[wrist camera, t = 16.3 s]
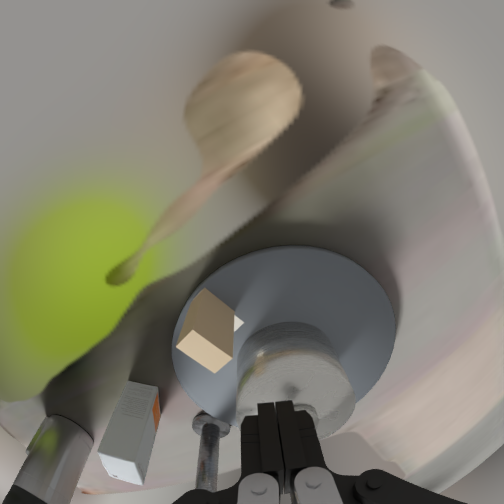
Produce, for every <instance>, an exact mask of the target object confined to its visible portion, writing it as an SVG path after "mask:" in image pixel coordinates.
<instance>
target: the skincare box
mask: <svg viewBox="0 0 504 504" xmlns="http://www.w3.org/2000/svg"><path fill="white" fill-rule="evenodd" d="M160 418H161V414H160V405H159V393H158V387H157V386H151V385H146V384H141V383H136V382H132V381H127V383H126V386H125V388H124V390H123V392H122V394H121V397H120V399H119V401H118V403H117V406H116V408H115V410H114V413H113V415H112V417H111V420H110V422H109V424H108V427H107V429H106V431H105V434H104V436H103V439H102V441H101V444H100V446H99V448H98V451H97V452H98V454H99V456H100V458H101V460H102V464H103V466H104V467H105V469H106V470H107V472H108V474H109V476H110V477H113V478H116V479H120V480H123V481H127V482H130V483H134V484H138V485H144V480H145V476H146V472H147V468H148V464H149V460H150V456H151V452H152V448H153V444H154V440H155V436H156V432H157V429H158V425H159V421H160Z"/></svg>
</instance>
